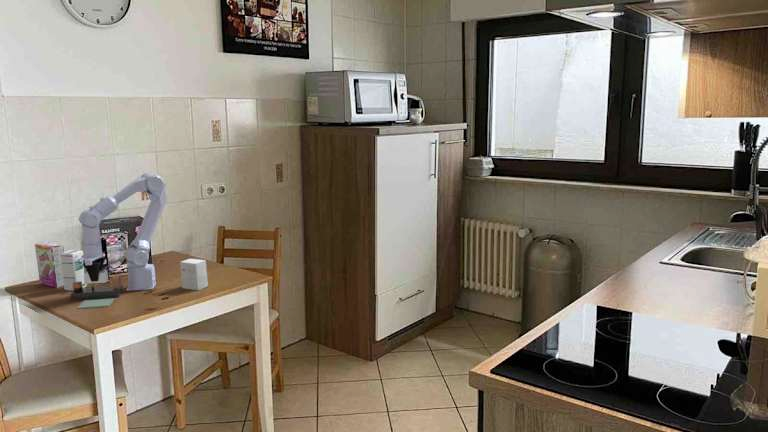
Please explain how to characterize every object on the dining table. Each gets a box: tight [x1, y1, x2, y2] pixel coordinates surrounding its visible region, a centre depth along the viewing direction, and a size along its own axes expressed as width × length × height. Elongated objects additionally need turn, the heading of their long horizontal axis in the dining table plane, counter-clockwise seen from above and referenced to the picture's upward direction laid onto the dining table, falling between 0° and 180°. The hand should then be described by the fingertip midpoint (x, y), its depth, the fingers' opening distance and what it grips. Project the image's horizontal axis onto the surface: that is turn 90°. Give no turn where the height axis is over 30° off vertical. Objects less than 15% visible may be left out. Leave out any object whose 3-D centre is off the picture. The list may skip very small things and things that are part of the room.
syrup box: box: [60, 249, 88, 292], centre depth 222 cm, size 6×6×14 cm
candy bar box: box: [34, 241, 65, 289], centre depth 227 cm, size 11×5×16 cm, turn 61°
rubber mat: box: [76, 297, 115, 310], centre depth 205 cm, size 10×8×1 cm
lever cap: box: [84, 268, 109, 285], centre depth 212 cm, size 7×4×4 cm, turn 101°
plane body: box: [70, 273, 124, 301], centre depth 213 cm, size 16×7×7 cm, turn 101°
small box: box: [179, 258, 209, 291], centre depth 221 cm, size 8×6×10 cm
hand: (96, 279), depth 213 cm, fingers closed on lever cap, 4 cm apart
